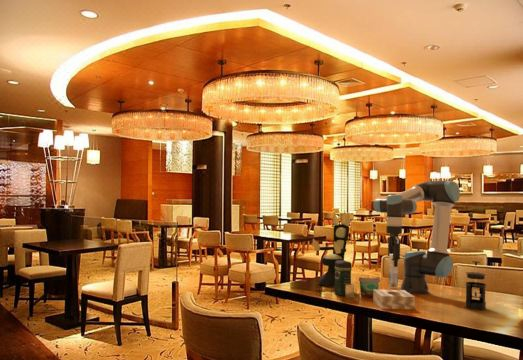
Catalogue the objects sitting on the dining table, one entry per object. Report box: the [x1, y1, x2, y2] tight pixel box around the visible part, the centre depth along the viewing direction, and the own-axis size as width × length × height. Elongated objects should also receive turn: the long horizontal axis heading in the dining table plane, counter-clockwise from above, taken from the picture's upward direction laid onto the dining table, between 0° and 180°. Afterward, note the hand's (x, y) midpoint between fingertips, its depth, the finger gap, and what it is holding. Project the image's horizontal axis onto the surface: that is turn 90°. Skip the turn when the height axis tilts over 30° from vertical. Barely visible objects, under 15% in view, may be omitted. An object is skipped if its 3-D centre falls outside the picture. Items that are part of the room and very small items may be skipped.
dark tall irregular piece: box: [311, 210, 352, 288], centre depth 279 cm, size 19×22×45 cm
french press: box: [465, 260, 487, 311], centre depth 226 cm, size 12×9×23 cm
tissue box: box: [372, 289, 416, 310], centre depth 227 cm, size 16×16×6 cm
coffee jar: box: [333, 259, 353, 297], centre depth 251 cm, size 10×8×19 cm
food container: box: [358, 276, 381, 298], centre depth 247 cm, size 12×6×10 cm, turn 105°
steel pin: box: [388, 254, 399, 288], centre depth 228 cm, size 4×4×16 cm
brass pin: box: [344, 283, 355, 300], centre depth 241 cm, size 4×4×7 cm
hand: (393, 272), depth 228 cm, fingers closed on steel pin, 4 cm apart
